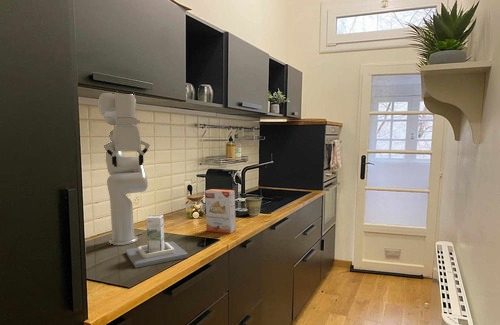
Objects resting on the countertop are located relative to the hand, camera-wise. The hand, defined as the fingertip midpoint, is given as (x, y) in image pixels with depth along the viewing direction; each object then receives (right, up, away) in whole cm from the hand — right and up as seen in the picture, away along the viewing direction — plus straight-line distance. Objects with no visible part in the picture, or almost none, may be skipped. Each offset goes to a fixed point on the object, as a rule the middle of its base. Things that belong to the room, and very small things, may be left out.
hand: (128, 165), depth 136 cm
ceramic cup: (+51, -31, +73) cm, 95 cm away
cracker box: (+34, -33, +35) cm, 59 cm away
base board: (+11, -36, +1) cm, 38 cm away
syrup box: (+11, -35, +1) cm, 36 cm away
